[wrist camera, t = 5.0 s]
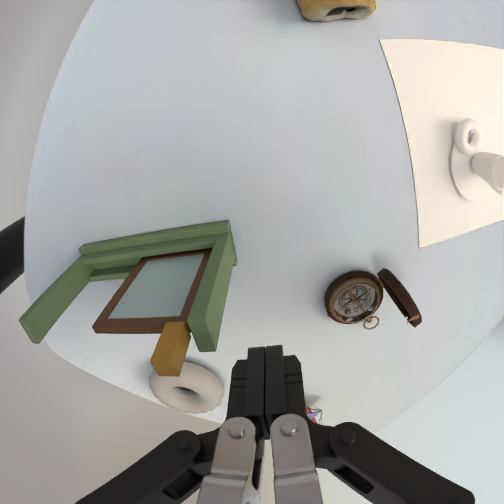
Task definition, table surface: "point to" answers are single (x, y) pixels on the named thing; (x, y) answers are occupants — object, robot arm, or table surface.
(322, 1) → the pastry
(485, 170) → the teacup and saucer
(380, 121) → the table surface
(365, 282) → the compass
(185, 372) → the donut
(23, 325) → the window frame
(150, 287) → the sash
